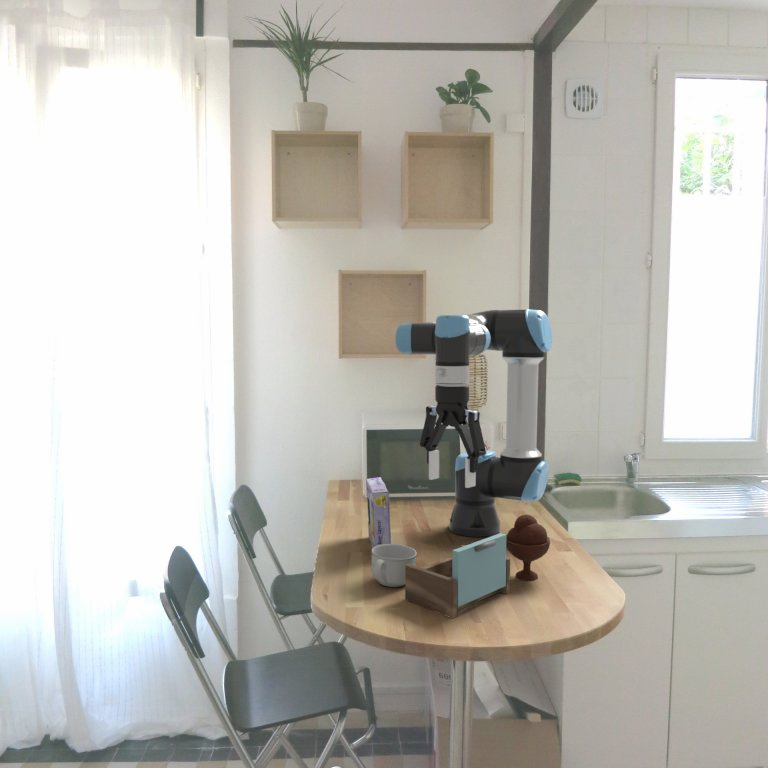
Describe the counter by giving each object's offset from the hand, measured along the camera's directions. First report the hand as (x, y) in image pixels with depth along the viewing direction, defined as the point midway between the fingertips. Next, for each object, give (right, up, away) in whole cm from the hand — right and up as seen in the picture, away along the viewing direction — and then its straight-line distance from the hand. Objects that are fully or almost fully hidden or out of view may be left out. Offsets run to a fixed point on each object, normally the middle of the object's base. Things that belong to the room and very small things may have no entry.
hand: (451, 482), depth 162 cm
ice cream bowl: (+19, -25, +13) cm, 34 cm away
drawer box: (+1, -26, +2) cm, 26 cm away
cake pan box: (-17, -23, +36) cm, 46 cm away
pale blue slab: (+6, -24, -4) cm, 26 cm away
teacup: (-14, -26, +8) cm, 30 cm away
